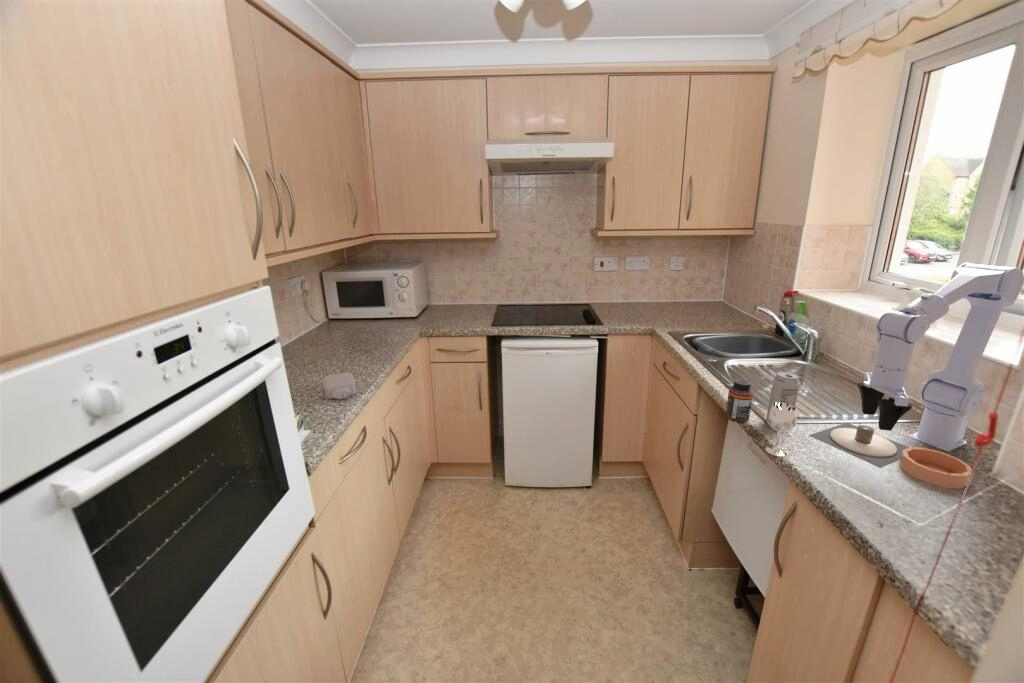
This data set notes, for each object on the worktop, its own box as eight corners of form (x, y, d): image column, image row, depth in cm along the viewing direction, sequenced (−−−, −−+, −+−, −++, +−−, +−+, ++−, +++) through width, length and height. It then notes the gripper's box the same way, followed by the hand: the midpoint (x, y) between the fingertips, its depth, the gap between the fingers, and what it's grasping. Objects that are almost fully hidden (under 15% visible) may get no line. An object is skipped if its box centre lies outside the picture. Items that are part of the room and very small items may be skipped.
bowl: (915, 456, 104) (919, 443, 103) (977, 481, 94) (982, 467, 93) (888, 467, 99) (892, 454, 98) (951, 495, 90) (956, 481, 89)
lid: (849, 425, 117) (853, 412, 116) (907, 449, 106) (912, 434, 104) (818, 436, 112) (822, 422, 110) (876, 462, 100) (881, 446, 99)
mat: (846, 424, 119) (846, 422, 119) (918, 452, 105) (919, 451, 105) (808, 436, 113) (809, 435, 112) (879, 469, 99) (880, 467, 99)
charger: (327, 407, 133) (324, 389, 146) (359, 401, 137) (353, 384, 150) (325, 393, 131) (322, 376, 144) (357, 387, 135) (351, 371, 148)
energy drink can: (782, 421, 121) (792, 370, 116) (795, 432, 115) (806, 379, 110) (760, 421, 121) (769, 370, 116) (772, 432, 115) (782, 379, 111)
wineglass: (780, 444, 109) (788, 401, 106) (795, 457, 104) (804, 411, 100) (757, 445, 109) (765, 401, 105) (771, 458, 103) (780, 412, 100)
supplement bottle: (723, 412, 126) (729, 376, 123) (746, 415, 124) (752, 378, 121) (726, 422, 121) (732, 384, 117) (750, 425, 119) (756, 386, 116)
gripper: (854, 354, 104) (842, 405, 108) (886, 376, 91) (871, 434, 95) (889, 356, 102) (876, 408, 106) (927, 379, 89) (910, 438, 93)
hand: (876, 421), depth 100 cm, fingers open, 7 cm apart
